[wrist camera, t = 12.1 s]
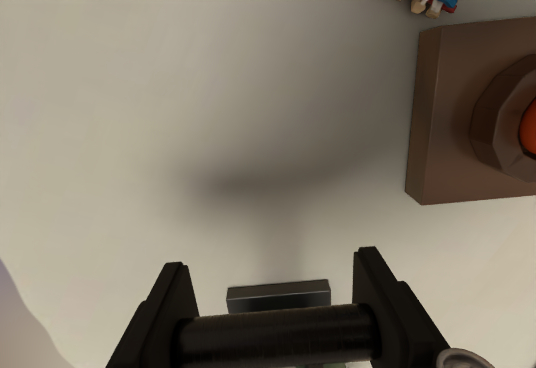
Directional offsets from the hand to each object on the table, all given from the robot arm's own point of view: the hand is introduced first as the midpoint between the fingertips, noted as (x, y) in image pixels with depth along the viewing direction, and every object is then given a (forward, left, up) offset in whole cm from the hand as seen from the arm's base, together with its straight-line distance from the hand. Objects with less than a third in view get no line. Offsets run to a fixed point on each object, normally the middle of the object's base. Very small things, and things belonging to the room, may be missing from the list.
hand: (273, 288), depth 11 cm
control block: (-4, +15, -9) cm, 18 cm away
